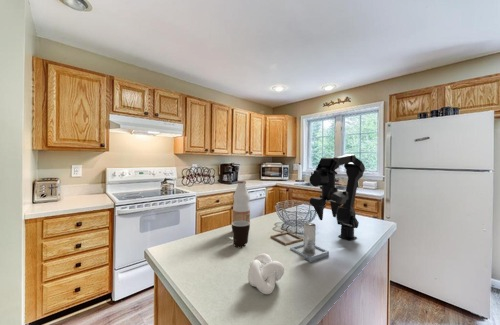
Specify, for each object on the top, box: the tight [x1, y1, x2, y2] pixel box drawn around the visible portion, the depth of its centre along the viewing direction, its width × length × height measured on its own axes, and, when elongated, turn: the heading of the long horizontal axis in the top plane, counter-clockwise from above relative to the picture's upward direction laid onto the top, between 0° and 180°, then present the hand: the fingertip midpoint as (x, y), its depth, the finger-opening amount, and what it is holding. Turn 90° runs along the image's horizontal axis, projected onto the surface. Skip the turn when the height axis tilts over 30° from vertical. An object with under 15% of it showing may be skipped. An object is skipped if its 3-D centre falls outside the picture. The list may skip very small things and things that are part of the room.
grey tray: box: [289, 243, 330, 264], centre depth 92 cm, size 11×11×2 cm
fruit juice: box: [232, 179, 251, 231], centre depth 119 cm, size 9×9×28 cm
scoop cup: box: [303, 222, 317, 255], centre depth 92 cm, size 5×5×12 cm
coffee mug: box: [230, 221, 251, 248], centre depth 104 cm, size 12×9×10 cm
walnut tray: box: [270, 231, 304, 246], centre depth 106 cm, size 11×11×2 cm
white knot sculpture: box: [247, 253, 285, 295], centre depth 69 cm, size 11×12×9 cm
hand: (327, 218), depth 100 cm, fingers open, 9 cm apart
